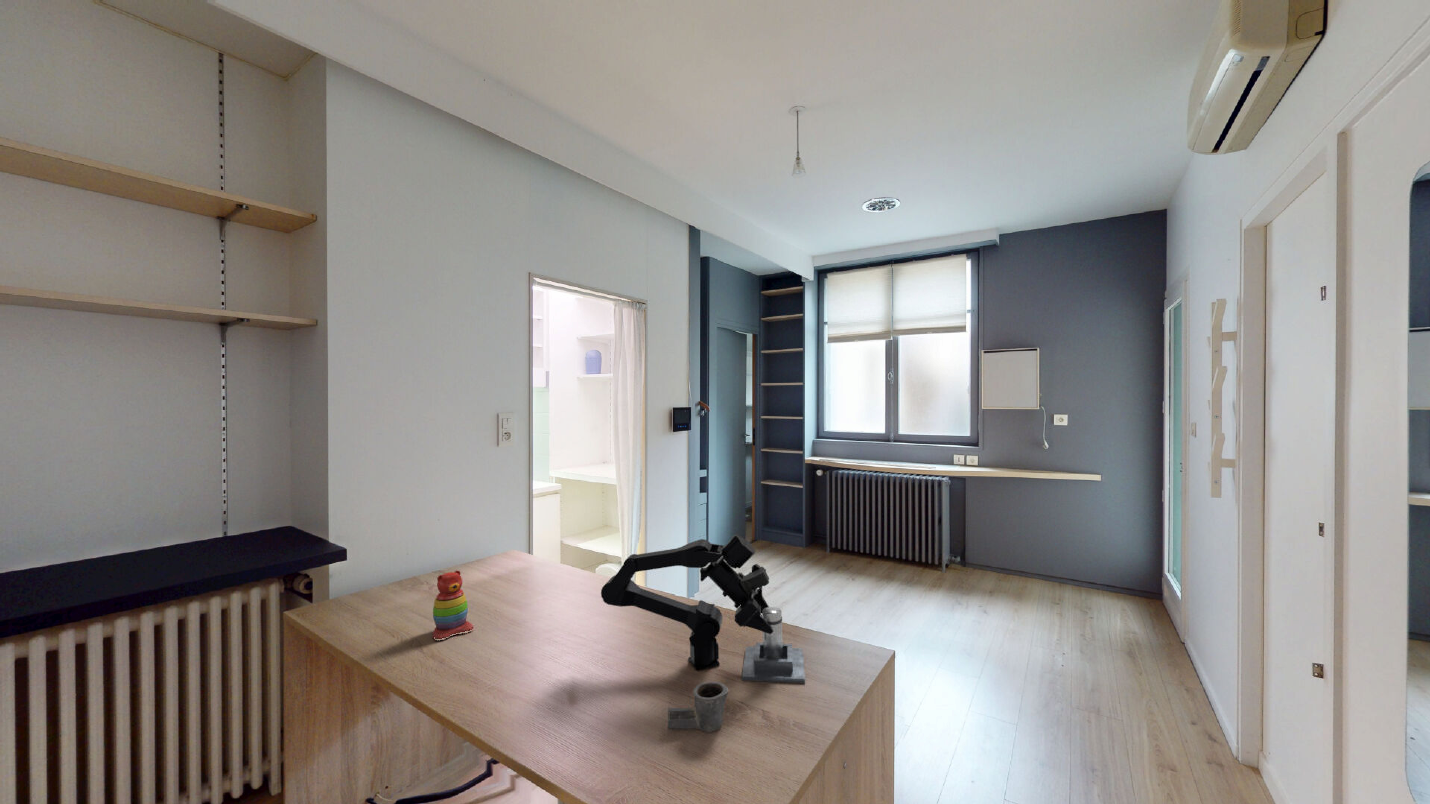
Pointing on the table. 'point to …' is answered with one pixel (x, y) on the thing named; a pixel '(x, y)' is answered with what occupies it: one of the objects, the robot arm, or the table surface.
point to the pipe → (701, 709)
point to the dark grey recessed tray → (774, 665)
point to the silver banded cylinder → (773, 634)
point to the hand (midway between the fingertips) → (772, 624)
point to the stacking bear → (450, 606)
